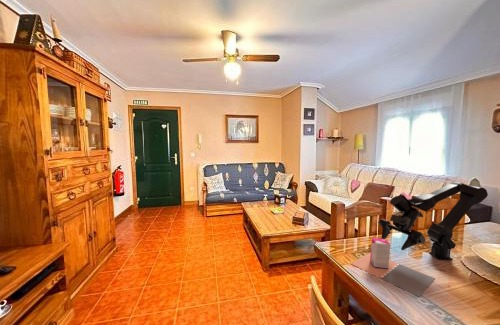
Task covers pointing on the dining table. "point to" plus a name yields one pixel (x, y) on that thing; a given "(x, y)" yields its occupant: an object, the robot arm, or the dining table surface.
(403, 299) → the dining table surface
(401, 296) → the dining table surface
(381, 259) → the supplement box
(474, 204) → the robot arm
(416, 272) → the ticket mat
